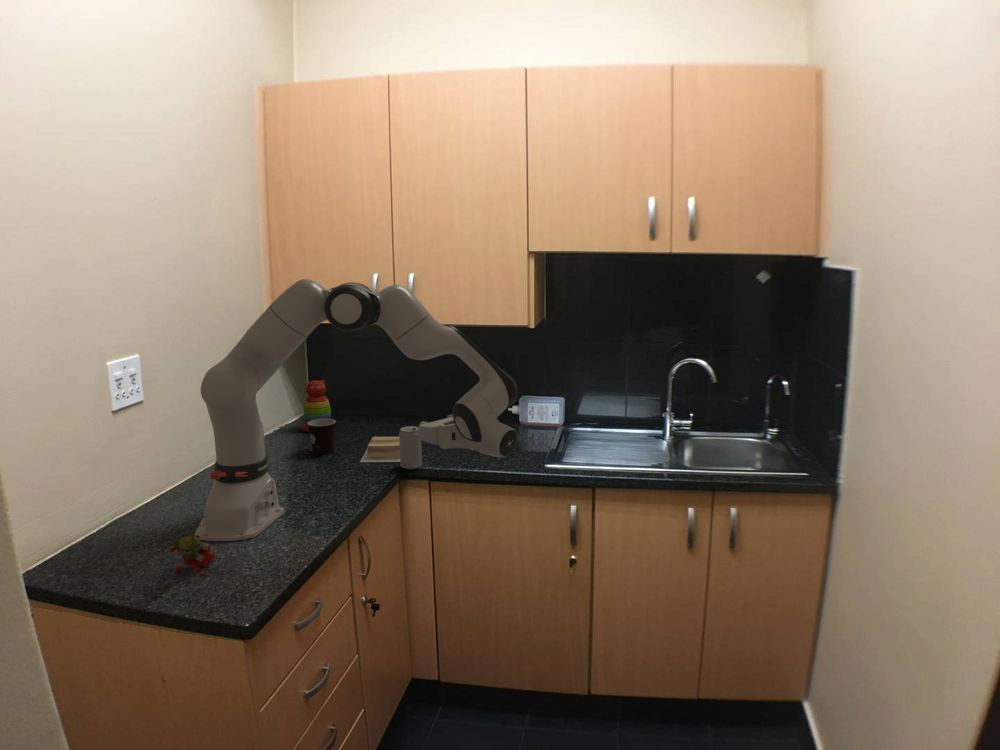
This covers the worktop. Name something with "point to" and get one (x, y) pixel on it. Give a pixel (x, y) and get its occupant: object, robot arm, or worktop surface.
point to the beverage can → (410, 448)
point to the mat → (365, 459)
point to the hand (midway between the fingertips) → (435, 420)
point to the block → (384, 448)
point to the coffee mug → (322, 435)
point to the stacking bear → (316, 403)
